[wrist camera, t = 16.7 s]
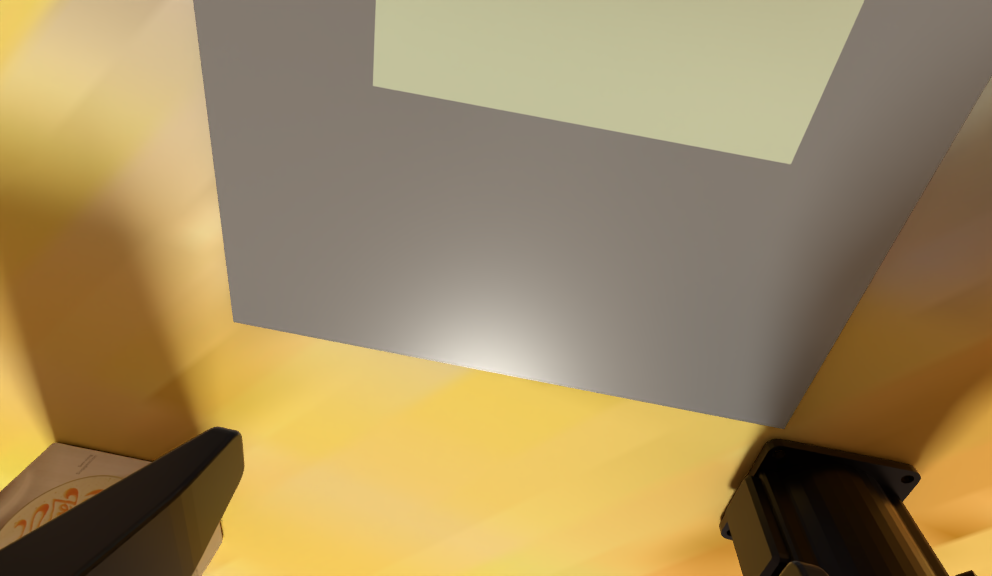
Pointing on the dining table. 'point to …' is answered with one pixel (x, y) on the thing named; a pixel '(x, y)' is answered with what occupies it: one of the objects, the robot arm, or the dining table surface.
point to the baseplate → (569, 210)
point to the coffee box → (67, 490)
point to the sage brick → (626, 63)
